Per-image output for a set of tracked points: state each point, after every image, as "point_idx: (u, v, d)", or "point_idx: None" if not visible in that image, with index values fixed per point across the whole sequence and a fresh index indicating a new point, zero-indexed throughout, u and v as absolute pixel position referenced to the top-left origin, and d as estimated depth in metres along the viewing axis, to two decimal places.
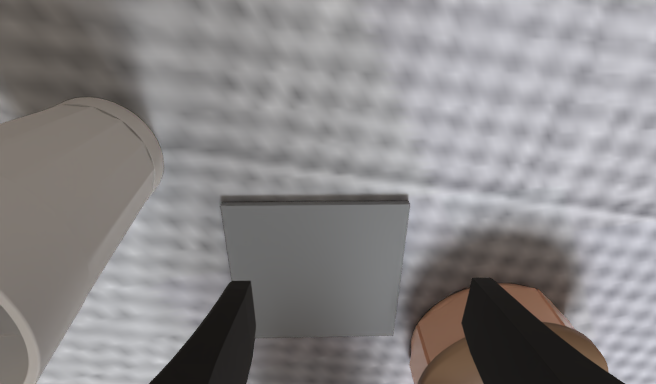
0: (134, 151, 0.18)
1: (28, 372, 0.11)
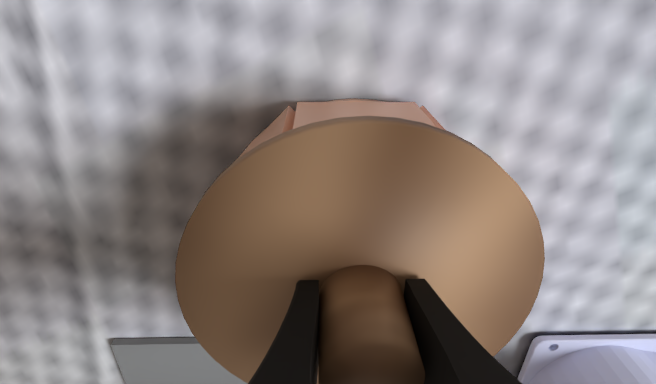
0: None
1: None
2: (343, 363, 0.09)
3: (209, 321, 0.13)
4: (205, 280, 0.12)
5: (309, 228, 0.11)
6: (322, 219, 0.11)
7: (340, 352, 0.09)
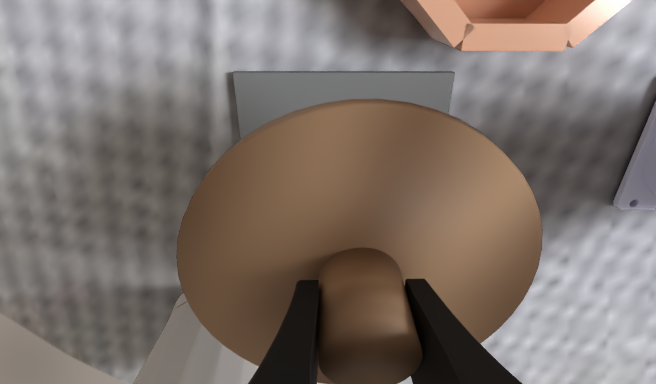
0: (183, 313, 0.23)
1: None
2: (343, 342, 0.10)
3: (208, 297, 0.13)
4: (206, 257, 0.12)
5: (314, 209, 0.11)
6: (328, 200, 0.11)
7: (341, 331, 0.09)
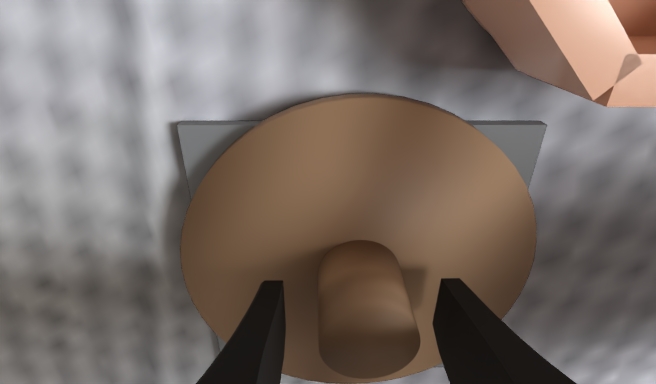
0: None
1: None
2: (343, 327, 0.10)
3: (210, 291, 0.13)
4: (209, 249, 0.12)
5: (314, 201, 0.11)
6: (327, 192, 0.11)
7: (341, 316, 0.10)
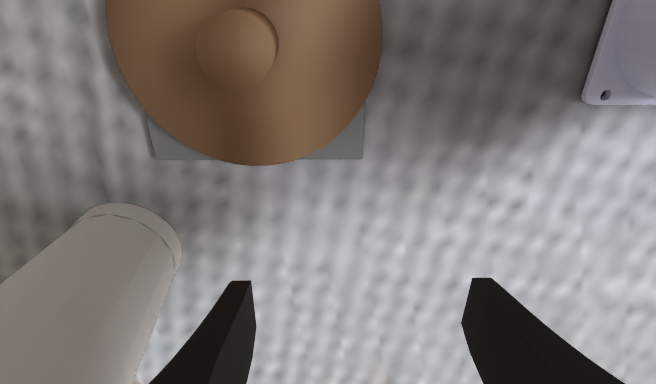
0: (69, 229, 0.19)
1: None
2: (211, 30, 0.14)
3: (133, 59, 0.17)
4: (128, 15, 0.16)
5: None
6: None
7: (208, 18, 0.13)
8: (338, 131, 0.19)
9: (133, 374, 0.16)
